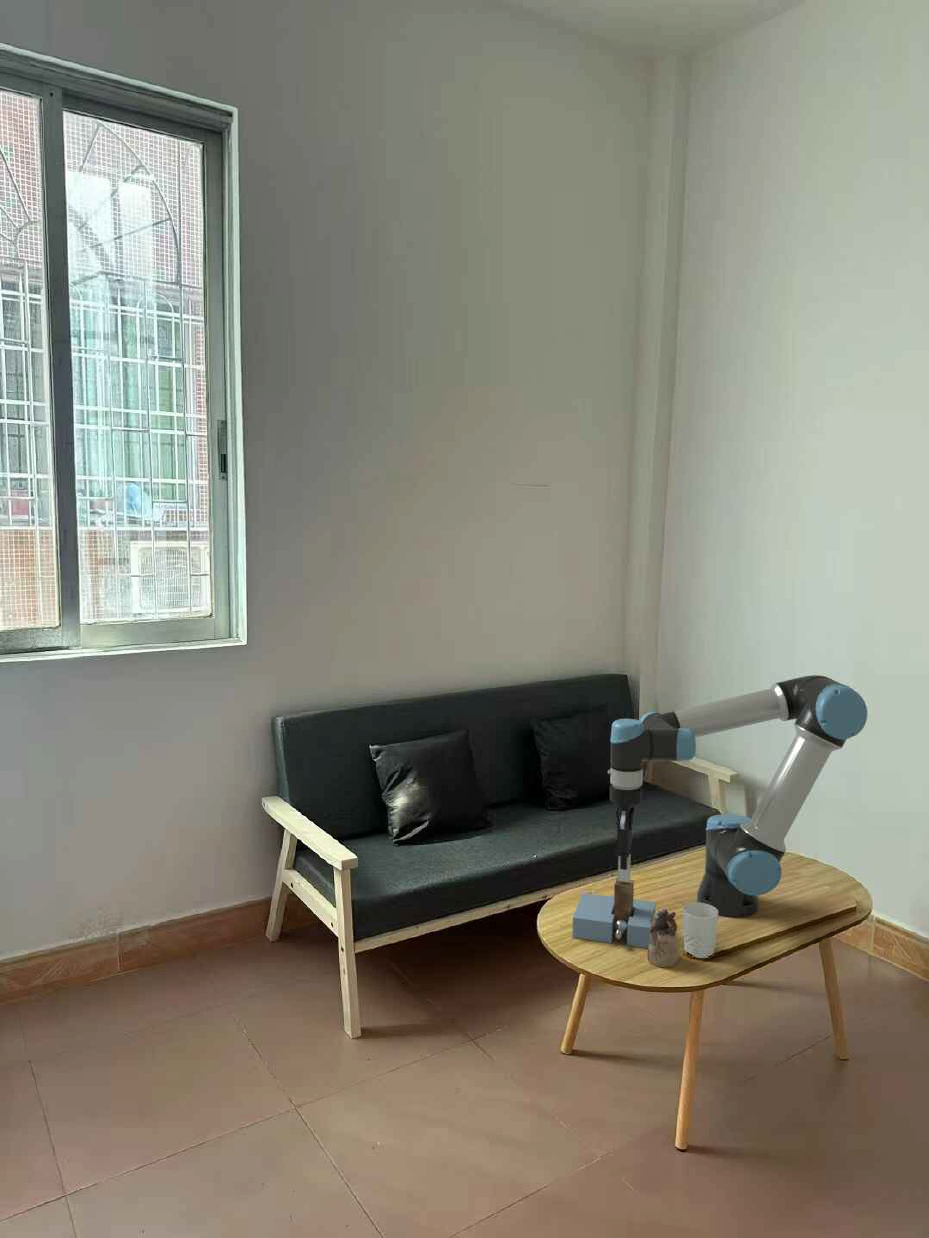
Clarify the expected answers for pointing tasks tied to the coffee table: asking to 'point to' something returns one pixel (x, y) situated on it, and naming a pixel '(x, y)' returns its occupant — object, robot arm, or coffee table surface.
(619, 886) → the peg
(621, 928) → the plunger
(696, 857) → the coffee table surface
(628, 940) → the socket board
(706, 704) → the robot arm
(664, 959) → the figurine
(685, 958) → the coffee table surface
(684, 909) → the white cup
